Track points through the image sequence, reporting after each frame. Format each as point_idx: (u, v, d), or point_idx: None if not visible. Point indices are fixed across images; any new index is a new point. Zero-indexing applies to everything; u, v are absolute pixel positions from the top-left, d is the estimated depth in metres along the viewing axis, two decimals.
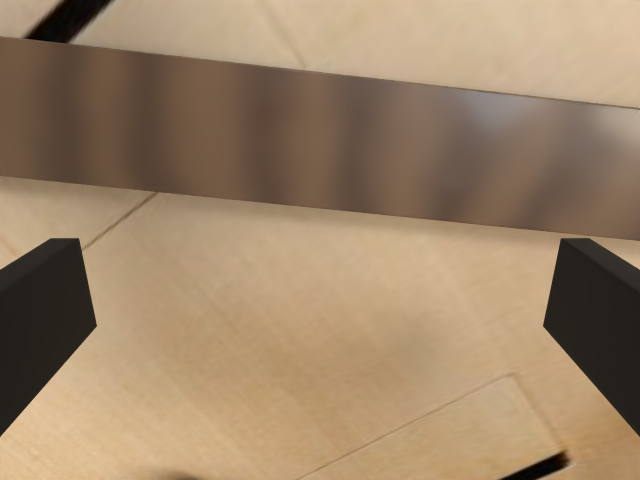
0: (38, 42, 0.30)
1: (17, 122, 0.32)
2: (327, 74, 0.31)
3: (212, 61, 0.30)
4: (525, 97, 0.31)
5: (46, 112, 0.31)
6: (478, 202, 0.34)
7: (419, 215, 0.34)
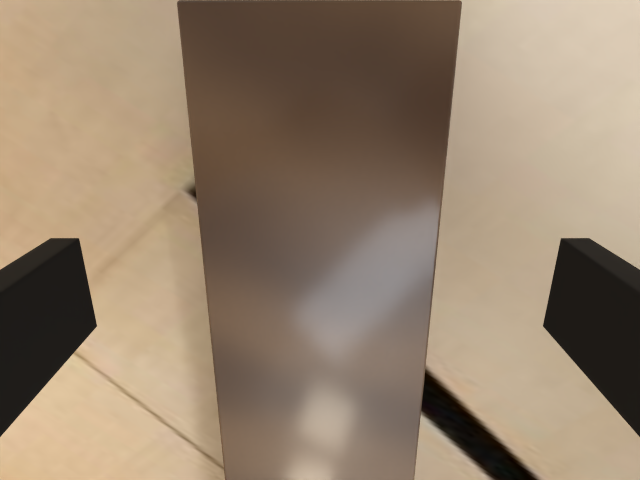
0: None
1: (305, 466, 0.22)
2: None
3: None
4: None
5: None
6: None
7: None
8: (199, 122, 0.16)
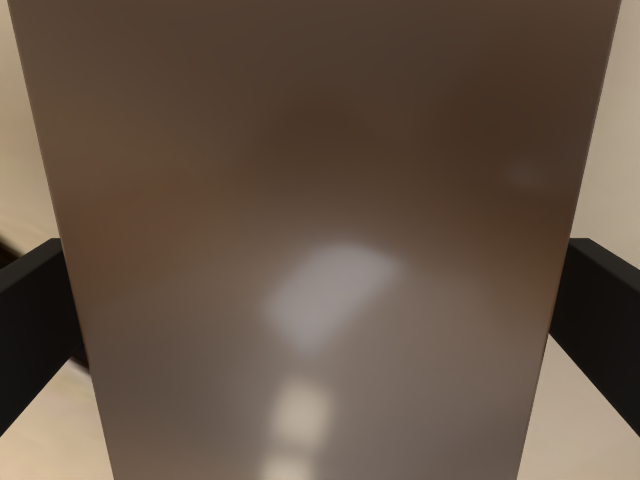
0: None
1: None
2: None
3: None
4: None
5: None
6: None
7: None
8: (66, 179, 0.08)
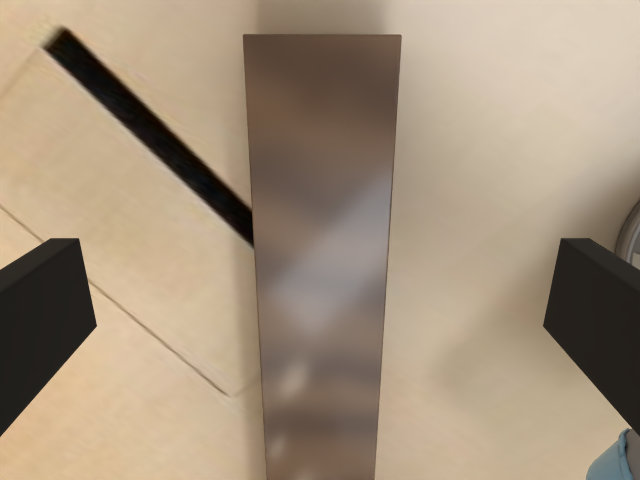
0: (381, 353, 0.35)
1: (311, 330, 0.34)
2: None
3: (374, 464, 0.39)
4: None
5: (323, 353, 0.35)
6: None
7: None
8: (252, 103, 0.28)
